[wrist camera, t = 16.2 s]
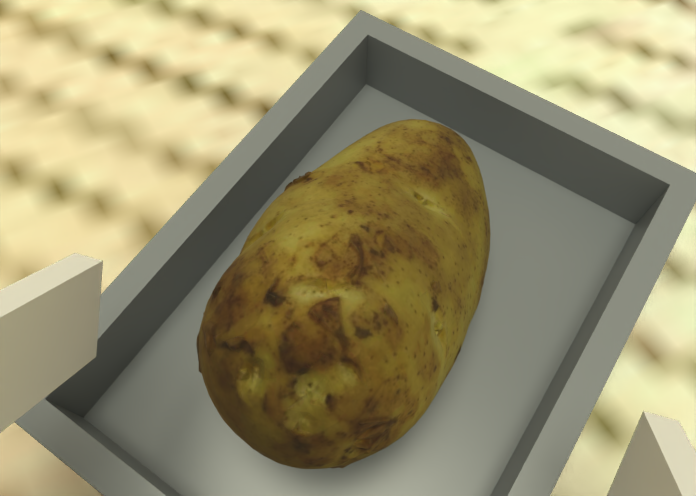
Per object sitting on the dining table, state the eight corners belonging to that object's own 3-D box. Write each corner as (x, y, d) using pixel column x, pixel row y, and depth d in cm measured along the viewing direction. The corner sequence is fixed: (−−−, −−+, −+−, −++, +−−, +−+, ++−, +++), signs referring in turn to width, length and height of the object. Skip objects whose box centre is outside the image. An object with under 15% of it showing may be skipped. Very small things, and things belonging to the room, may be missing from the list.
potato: (565, 275, 24) (657, 157, 17) (324, 531, 20) (309, 522, 13) (408, 148, 26) (429, -1, 19) (168, 353, 23) (82, 261, 15)
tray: (406, 716, 19) (420, 756, 15) (54, 430, 22) (-3, 408, 19) (657, 230, 26) (706, 178, 22) (359, 75, 30) (360, 9, 26)
